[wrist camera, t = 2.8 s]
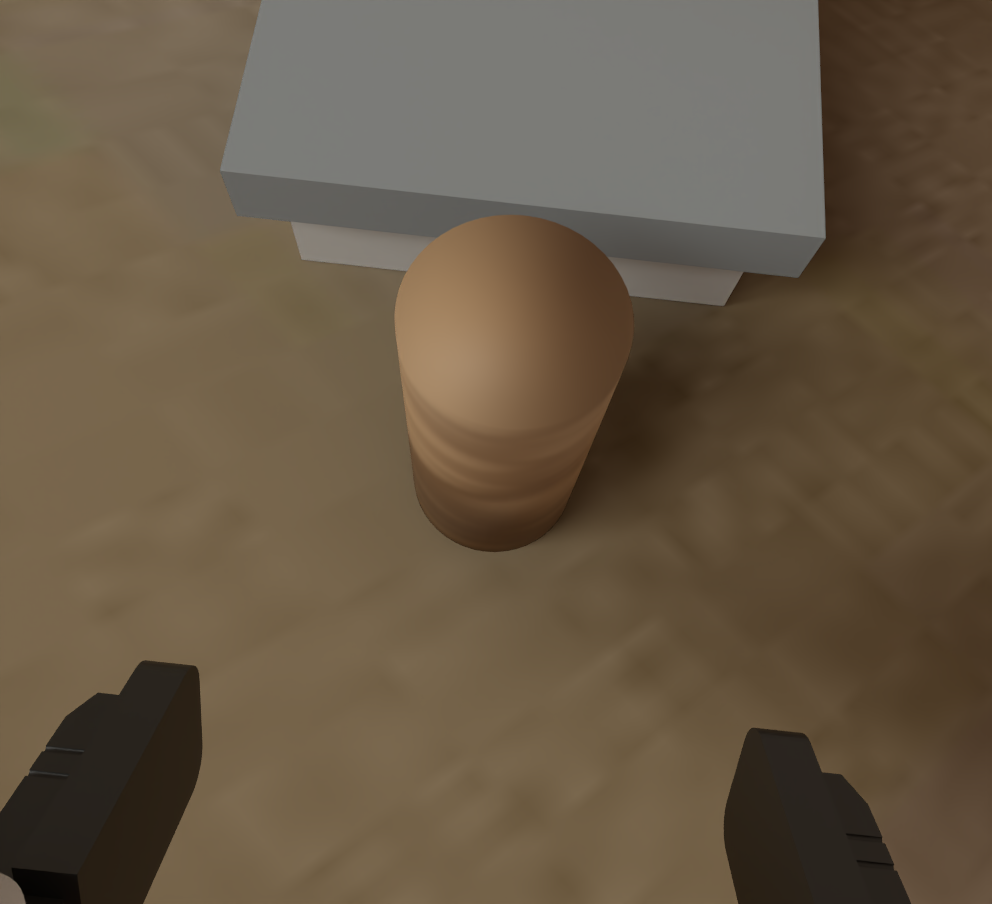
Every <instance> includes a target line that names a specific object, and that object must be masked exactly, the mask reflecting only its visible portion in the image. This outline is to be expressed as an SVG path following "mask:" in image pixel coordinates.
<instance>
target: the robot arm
mask: <svg viewBox="0 0 992 904" xmlns="http://www.w3.org/2000/svg"><path fill="white" fill-rule="evenodd" d="M201 758H202V726H201V703H200V681H199V672H198V669H197V667H196V666H192V665H183V664H174V663H164V662H155V661H146V660H145V661H142V662H141V663H140V664H139V665H138V666H137V667H136V669H135V670H134V672H133V673H132V675H131V677H130V678H129V680H128V681H127V683H126V685H125V686H124V688H123V689H122V691H121V693H120V694H119V695H114V694H105V693H97V694H96V695H94V696H93V697H91V698H90V699H89V700H87V701H86V702H85V703H83V704H82V705H81V706H79V707H78V708H77V709H75V710H74V711H73V712H71V713H70V714H69V715H67V716H66V717H65V719H64V720H63V721H62V723H61V724H60V726H59V727H58V729H57V730H56V732H55V733H54V735H53V736H52V738H51V739H50V741H49V742H48V743H47V745H46V749H45V751H44V752H43V751H42V752H41V754H40V755H39V757H38V758H37V760H36V761H35V762H34V764H33V765H32V767H31V768H30V772H29V775H28V776H25V777H24V779H23V780H22V782H21V783H20V784H19V786H18V787H17V789H16V790H15V792H14V793H13V795H12V796H11V798H10V799H9V801H8V802H7V804H6V805H5V806H4V808H3V809H2V811H1V812H0V904H143V902H144V900H145V898H146V896H147V894H148V891H149V889H150V887H151V885H152V882H153V880H154V878H155V876H156V873H157V871H158V869H159V867H160V864H161V862H162V860H163V858H164V856H165V853H166V851H167V849H168V847H169V844H170V842H171V840H172V838H173V835H174V833H175V831H176V829H177V826H178V824H179V822H180V820H181V818H182V815H183V813H184V811H185V809H186V806H187V804H188V802H189V800H190V797H191V795H192V793H193V790H194V788H195V785H196V782H197V778H198V774H199V770H200V765H201ZM724 841H725V848H726V853H727V858H728V862H729V866H730V870H731V874H732V879H733V883H734V887H735V891H736V896H737V900H738V904H911V902H910V900H909V898H908V895H907V893H906V891H905V888H904V886H903V884H902V882H901V879H900V877H899V875H898V872H897V871H894V867H893V866H894V863H893V861H892V859H891V856H890V854H889V852H888V849H887V847H886V845H885V844H884V843H882V836H881V833H880V831H879V829H878V826H877V824H876V822H875V819H874V817H873V815H872V813H871V810H870V808H869V806H868V804H867V803H866V802H865V801H864V799H863V798H862V797H861V796H860V795H859V794H858V793H857V792H856V790H855V789H854V788H853V787H852V786H851V785H850V784H849V783H848V782H847V780H846V779H845V778H844V777H843V776H842V775H841V774H832V773H822V772H821V769H820V766H819V764H818V761H817V759H816V756H815V754H814V751H813V748H812V746H811V743H810V741H809V739H808V738H807V736H806V735H805V734H803V733H797V732H787V731H778V730H769V729H760V728H751V729H750V730H749V731H748V733H747V735H746V738H745V741H744V744H743V748H742V751H741V755H740V758H739V762H738V765H737V769H736V772H735V775H734V779H733V782H732V786H731V789H730V793H729V796H728V800H727V803H726V808H725V815H724Z"/></svg>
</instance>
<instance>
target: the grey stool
mask: <svg viewBox="0 0 992 904" xmlns="http://www.w3.org/2000/svg"><path fill="white" fill-rule="evenodd" d="M220 172H221V175H222V178H223V180H224V183H225V185H226V188H227V191H228V193H229V196H230V199H231V201H232V204H233V206H234V209H235V212H236V214H237V216H245V217H254V218H263V219H272V220H281V221H290V222H291V224H292V228H293V231H294V235H295V238H296V241H297V245H298V248H299V252H300V255H301V259H302V260H311V261H320V262H329V263H338V264H347V265H356V266H365V267H374V268H383V269H392V270H401V271H408V269H409V267H410V265H411V264H412V263H413V261H414V260H415V259H416V257H417V256H418V255H419V254H420V253H421V252H422V251H423V250H424V249H425V248H426V247H427V246H428V245H429V244H430V243H431V242H432V241H434V240H435V239H436V238H438V237H439V236H440V235H442V234H444V233H445V232H447V231H449V230H451V229H452V228H454V227H457V226H459V225H461V224H464V223H466V222H469V221H472V220H476V219H479V218H484V217H490V216H496V215H525V216H531V217H537V218H542V219H545V220H549V221H552V222H556V223H558V224H560V225H563V226H565V227H568V228H570V229H572V230H573V231H575V232H577V233H579V234H581V235H582V236H584V237H585V238H586V239H588V240H589V241H591V242H592V243H593V244H594V245H596V246H597V247H598V248H599V249H600V250H601V251H602V252H603V253H604V254H605V255H606V256H607V257H608V259H609V260H610V261H611V262H612V263H613V264H614V266H615V267H616V269H617V271H618V272H619V274H620V275H621V277H622V279H623V281H624V283H625V285H626V287H627V290H628V293H629V296H636V297H645V298H654V299H663V300H672V301H681V302H691V303H700V304H709V305H718V306H724V305H725V303H726V301H727V300H728V298H729V296H730V295H731V293H732V291H733V289H734V288H735V286H736V284H737V282H738V281H739V279H740V277H741V275H742V274H743V272H750V273H759V274H768V275H777V276H786V277H795V278H798V277H799V276H800V275H801V273H802V272H803V270H804V269H805V267H806V266H807V264H808V263H809V262H810V260H811V259H812V257H813V256H814V254H815V253H816V252H817V250H818V249H819V247H820V246H821V244H822V243H823V241H824V240H825V239H826V232H825V201H824V171H823V140H822V109H821V79H820V48H819V17H818V0H262V1H261V5H260V9H259V14H258V18H257V22H256V26H255V30H254V34H253V38H252V42H251V46H250V50H249V54H248V58H247V62H246V66H245V71H244V75H243V79H242V83H241V87H240V91H239V95H238V99H237V103H236V107H235V111H234V115H233V119H232V123H231V128H230V132H229V136H228V140H227V144H226V148H225V152H224V156H223V160H222V164H221V168H220Z"/></svg>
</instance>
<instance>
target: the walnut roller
mask: <svg viewBox="0 0 992 904" xmlns="http://www.w3.org/2000/svg"><path fill="white" fill-rule="evenodd" d="M394 318H395V332H396V340H397V348H398V356H399V364H400V372H401V380H402V388H403V396H404V404H405V412H406V420H407V428H408V436H409V444H410V452H411V460H412V468H413V476H414V484H415V490H416V494H417V498H418V500H419V503H420V506H421V508H422V510H423V511H424V513H425V515H426V516H427V518H428V519H429V521H430V522H431V523H432V524H433V525H434V526H435V527H436V528H437V530H439V531H440V532H441V533H442V534H443V535H445V536H446V537H447V538H449V539H451V540H452V541H454V542H456V543H458V544H460V545H462V546H465V547H468V548H471V549H474V550H480V551H487V552H500V551H508V550H513V549H517V548H520V547H523V546H526V545H528V544H530V543H532V542H534V541H536V540H537V539H538V538H540V537H541V536H543V535H544V534H545V533H546V532H547V531H548V530H550V529H551V528H552V527H553V525H554V524H555V523H556V522H557V521H558V519H559V518H560V516H561V514H562V513H563V511H564V509H565V506H566V504H567V502H568V500H569V497H570V495H571V492H572V490H573V488H574V485H575V483H576V481H577V478H578V476H579V474H580V471H581V469H582V466H583V464H584V462H585V459H586V457H587V455H588V452H589V450H590V448H591V445H592V443H593V440H594V438H595V436H596V433H597V431H598V429H599V426H600V424H601V421H602V419H603V417H604V414H605V412H606V410H607V407H608V405H609V403H610V400H611V398H612V395H613V393H614V391H615V388H616V386H617V384H618V381H619V379H620V377H621V374H622V372H623V369H624V367H625V365H626V362H627V360H628V358H629V354H630V351H631V347H632V343H633V335H634V314H633V308H632V302H631V299H630V296H629V293H628V290H627V287H626V285H625V283H624V281H623V279H622V277H621V275H620V274H619V272H618V271H617V269H616V267H615V266H614V264H613V263H612V262H611V261H610V260H609V259H608V257H607V256H606V255H605V254H604V253H603V252H602V251H601V250H600V249H599V248H598V247H597V246H596V245H594V244H593V243H592V242H591V241H589V240H588V239H586V238H585V237H584V236H582V235H581V234H579V233H577V232H575V231H573V230H572V229H570V228H568V227H565V226H563V225H560V224H558V223H556V222H552V221H549V220H545V219H542V218H537V217H531V216H525V215H496V216H490V217H484V218H479V219H476V220H472V221H469V222H466V223H464V224H461V225H459V226H457V227H454V228H452V229H451V230H449V231H447V232H445V233H444V234H442V235H440V236H439V237H438V238H436V239H435V240H434V241H432V242H431V243H430V244H429V245H428V246H427V247H426V248H425V249H424V250H423V251H422V252H421V253H420V254H419V255H418V256H417V257H416V259H415V260H414V261H413V263H412V264H411V265H410V267H409V269H408V271H407V272H406V274H405V276H404V278H403V280H402V283H401V286H400V288H399V291H398V295H397V300H396V305H395V317H394Z"/></svg>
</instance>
